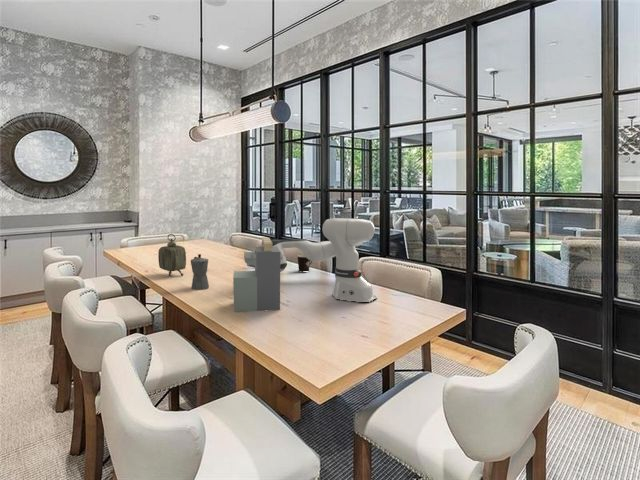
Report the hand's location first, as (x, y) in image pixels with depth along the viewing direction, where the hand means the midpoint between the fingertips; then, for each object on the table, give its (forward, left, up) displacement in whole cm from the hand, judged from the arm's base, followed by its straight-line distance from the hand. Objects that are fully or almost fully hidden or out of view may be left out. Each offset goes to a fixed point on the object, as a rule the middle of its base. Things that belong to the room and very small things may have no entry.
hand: (264, 251), depth 202 cm
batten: (-13, +13, +5) cm, 19 cm away
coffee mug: (+13, -55, -22) cm, 61 cm away
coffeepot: (+34, +13, -22) cm, 42 cm away
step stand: (-13, +20, -21) cm, 32 cm away
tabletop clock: (+68, +5, -22) cm, 72 cm away
